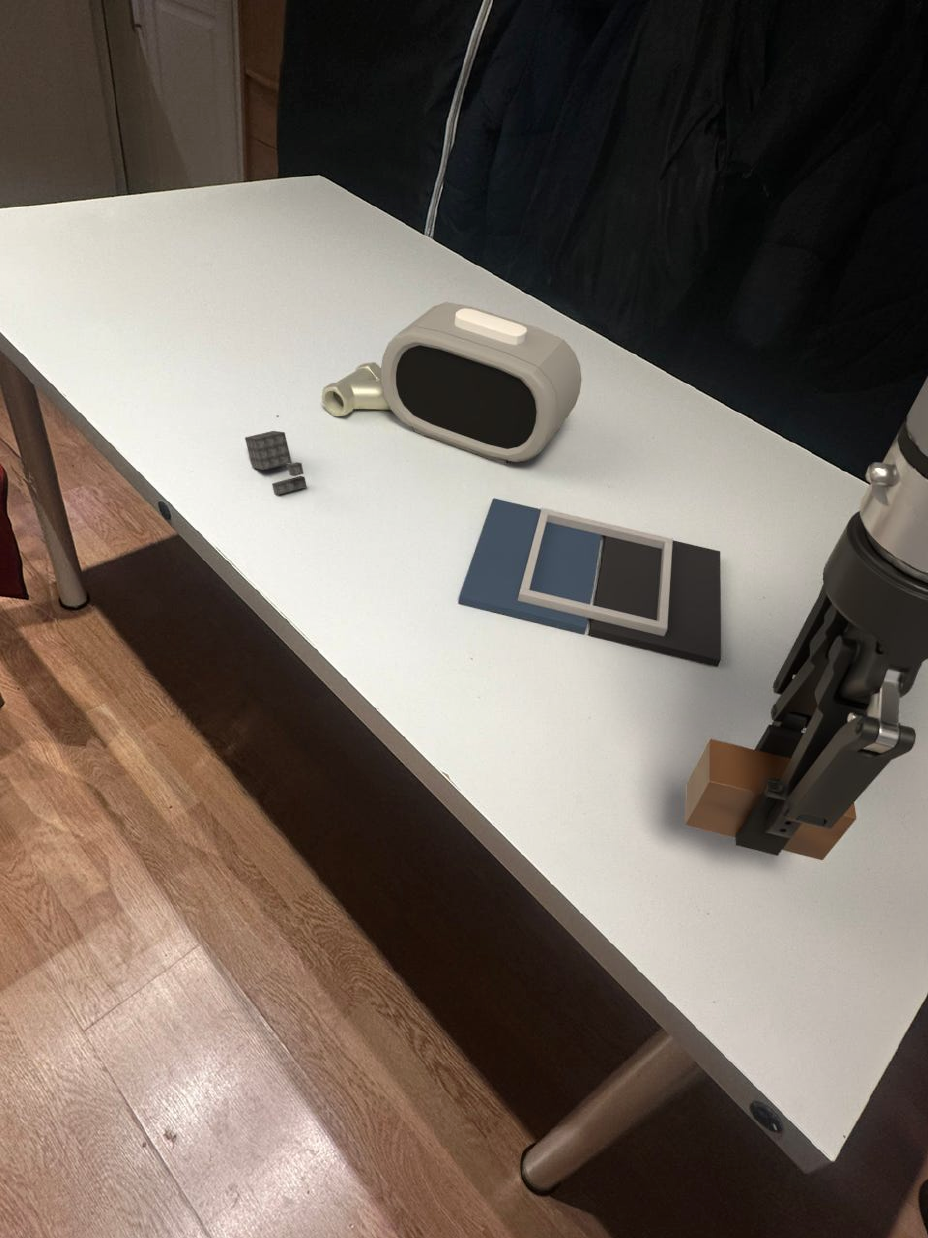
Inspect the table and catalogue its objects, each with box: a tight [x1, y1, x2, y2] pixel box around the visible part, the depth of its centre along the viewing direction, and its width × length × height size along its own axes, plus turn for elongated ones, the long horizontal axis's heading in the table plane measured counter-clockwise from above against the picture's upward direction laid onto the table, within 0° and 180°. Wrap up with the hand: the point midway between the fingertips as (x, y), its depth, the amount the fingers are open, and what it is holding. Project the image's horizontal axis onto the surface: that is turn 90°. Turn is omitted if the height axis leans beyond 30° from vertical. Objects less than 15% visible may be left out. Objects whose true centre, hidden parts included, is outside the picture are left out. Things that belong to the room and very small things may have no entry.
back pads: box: [458, 497, 722, 668], centre depth 79 cm, size 24×16×2 cm, turn 77°
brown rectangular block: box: [684, 738, 858, 861], centre depth 53 cm, size 9×4×5 cm, turn 77°
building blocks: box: [244, 430, 308, 496], centre depth 84 cm, size 3×6×8 cm
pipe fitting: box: [321, 361, 392, 417], centre depth 96 cm, size 8×4×7 cm
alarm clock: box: [380, 301, 582, 465], centre depth 92 cm, size 21×10×13 cm, turn 65°
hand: (755, 818), depth 54 cm, fingers closed on brown rectangular block, 3 cm apart
